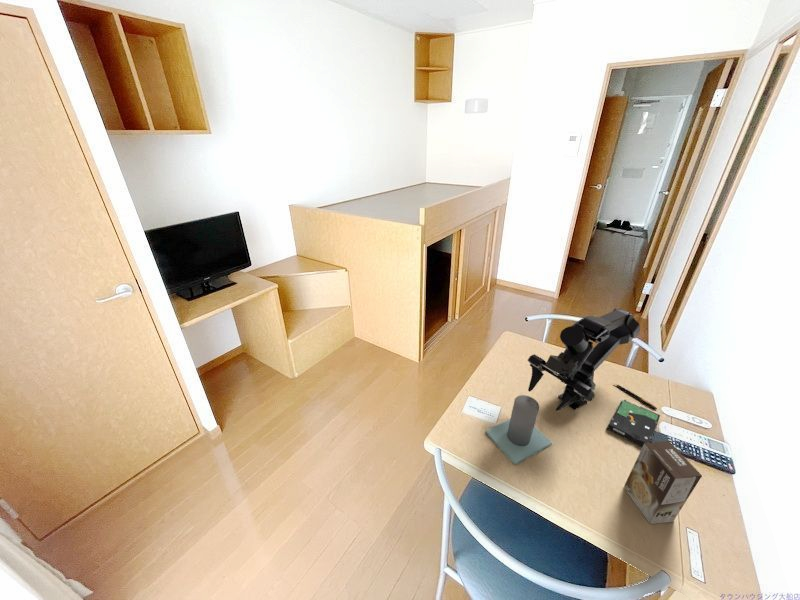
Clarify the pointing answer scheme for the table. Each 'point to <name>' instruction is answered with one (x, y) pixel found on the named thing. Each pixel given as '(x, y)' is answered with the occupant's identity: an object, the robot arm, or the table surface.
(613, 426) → the disk drive
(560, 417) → the table surface
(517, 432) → the grey domed cylinder
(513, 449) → the slate board
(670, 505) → the coffee box
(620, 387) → the fountain pen
